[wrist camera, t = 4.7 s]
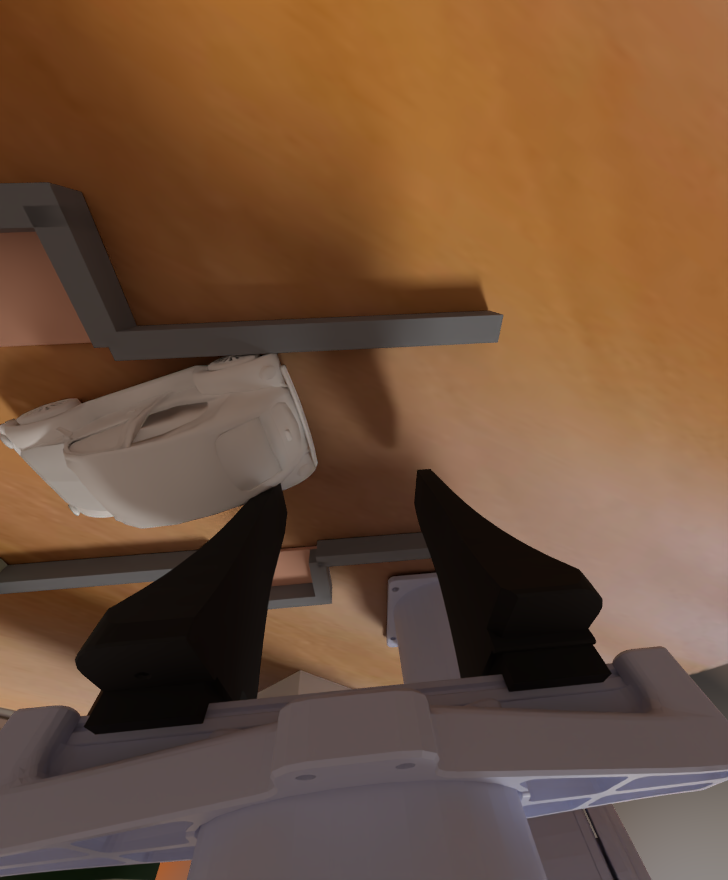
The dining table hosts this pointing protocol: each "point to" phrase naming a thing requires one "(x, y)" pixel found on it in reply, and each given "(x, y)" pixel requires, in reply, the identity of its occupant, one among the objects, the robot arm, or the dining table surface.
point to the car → (172, 443)
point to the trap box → (112, 325)
